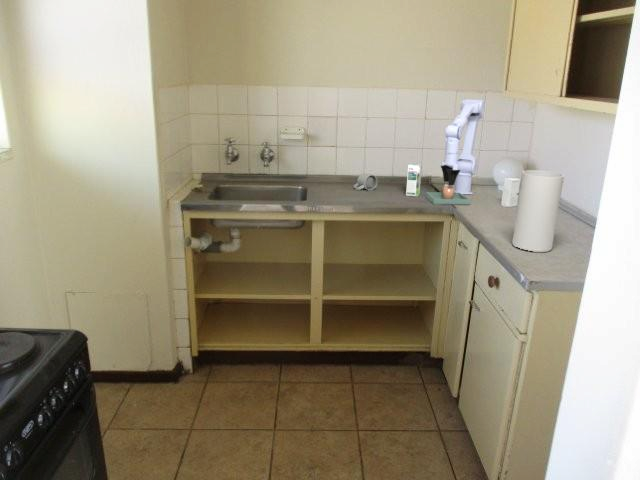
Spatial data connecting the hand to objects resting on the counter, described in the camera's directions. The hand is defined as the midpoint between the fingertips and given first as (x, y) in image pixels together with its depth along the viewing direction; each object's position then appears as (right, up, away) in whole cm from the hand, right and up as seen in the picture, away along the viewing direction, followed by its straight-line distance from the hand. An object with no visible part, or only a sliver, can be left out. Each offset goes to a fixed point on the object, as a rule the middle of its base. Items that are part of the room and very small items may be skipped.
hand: (448, 183), depth 235 cm
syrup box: (-14, -4, +13) cm, 20 cm away
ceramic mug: (-36, -1, +23) cm, 43 cm away
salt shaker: (0, -7, +2) cm, 8 cm away
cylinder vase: (+13, -28, -59) cm, 66 cm away
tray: (0, -8, +3) cm, 8 cm away
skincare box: (+26, -10, -2) cm, 28 cm away
